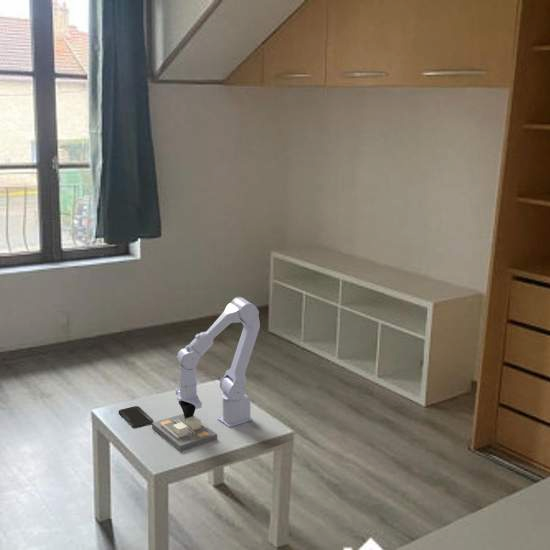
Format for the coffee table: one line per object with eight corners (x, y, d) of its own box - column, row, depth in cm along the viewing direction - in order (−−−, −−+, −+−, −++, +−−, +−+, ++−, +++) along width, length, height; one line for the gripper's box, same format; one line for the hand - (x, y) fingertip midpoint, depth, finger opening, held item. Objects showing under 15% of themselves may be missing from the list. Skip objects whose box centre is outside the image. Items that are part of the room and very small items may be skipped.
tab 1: (182, 430, 244) (182, 422, 243) (188, 434, 241) (187, 426, 240) (173, 433, 242) (172, 424, 241) (178, 437, 239) (178, 429, 238)
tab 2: (195, 423, 249) (194, 415, 248) (201, 428, 245) (200, 420, 245) (186, 426, 247) (185, 418, 246) (192, 430, 243) (191, 422, 243)
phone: (137, 405, 266) (154, 420, 253) (137, 408, 266) (154, 423, 254) (117, 410, 262) (132, 426, 249) (117, 413, 262) (133, 429, 250)
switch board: (187, 417, 258) (187, 410, 257) (217, 439, 242) (217, 431, 241) (152, 428, 250) (151, 420, 249) (180, 451, 234) (180, 443, 233)
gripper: (167, 379, 248) (168, 415, 252) (188, 393, 237) (189, 431, 240) (185, 374, 252) (186, 410, 256) (206, 388, 241) (207, 425, 244)
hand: (189, 420), depth 248 cm, fingers closed
